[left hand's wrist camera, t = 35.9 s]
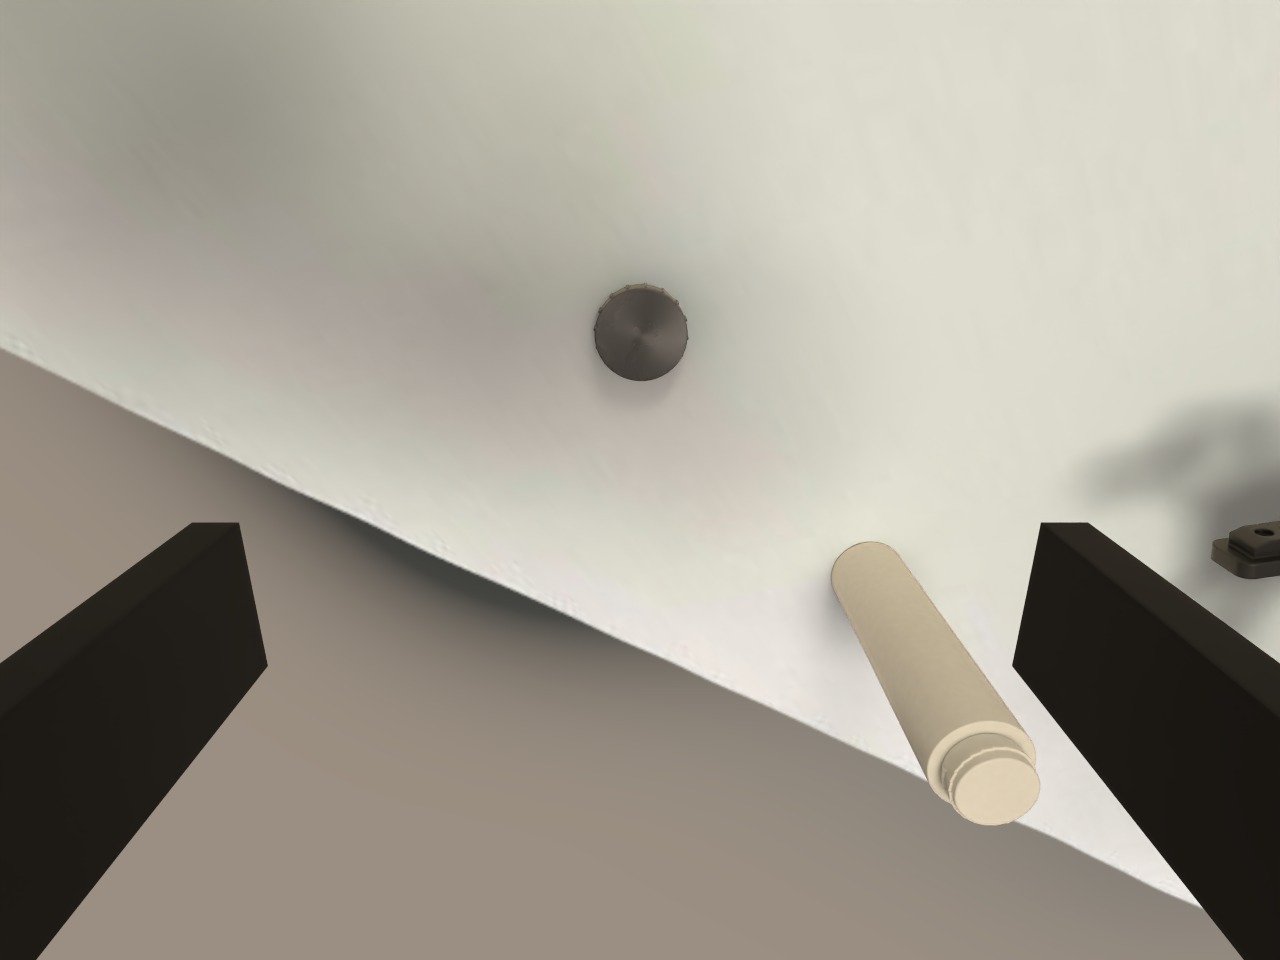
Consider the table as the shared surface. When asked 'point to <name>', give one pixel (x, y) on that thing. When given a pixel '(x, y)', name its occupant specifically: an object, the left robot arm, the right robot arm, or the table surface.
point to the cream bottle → (937, 690)
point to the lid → (641, 332)
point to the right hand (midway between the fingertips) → (1212, 647)
